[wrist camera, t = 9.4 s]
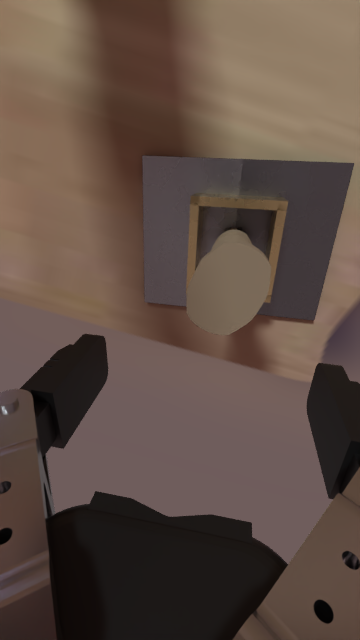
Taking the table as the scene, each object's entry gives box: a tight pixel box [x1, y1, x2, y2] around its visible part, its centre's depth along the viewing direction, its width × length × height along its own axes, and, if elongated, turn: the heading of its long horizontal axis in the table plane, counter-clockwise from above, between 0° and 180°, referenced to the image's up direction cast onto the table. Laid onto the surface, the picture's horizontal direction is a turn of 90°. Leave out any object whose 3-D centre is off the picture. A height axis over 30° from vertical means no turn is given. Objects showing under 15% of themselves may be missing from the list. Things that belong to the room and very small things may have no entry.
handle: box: [186, 228, 271, 335], centre depth 27 cm, size 5×6×15 cm
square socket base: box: [142, 156, 354, 320], centre depth 32 cm, size 16×20×5 cm
